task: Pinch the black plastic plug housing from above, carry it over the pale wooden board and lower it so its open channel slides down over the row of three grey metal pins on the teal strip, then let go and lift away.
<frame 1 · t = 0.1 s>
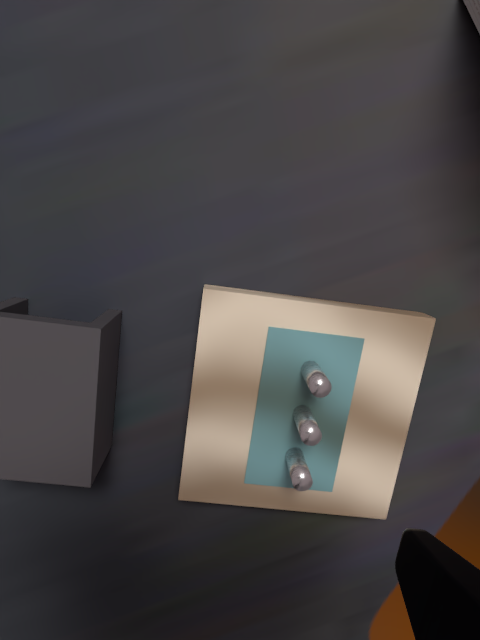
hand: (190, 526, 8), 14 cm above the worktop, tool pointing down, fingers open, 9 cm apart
pin board: (296, 401, 24), on the worktop
plug housing: (65, 374, 23), on the worktop
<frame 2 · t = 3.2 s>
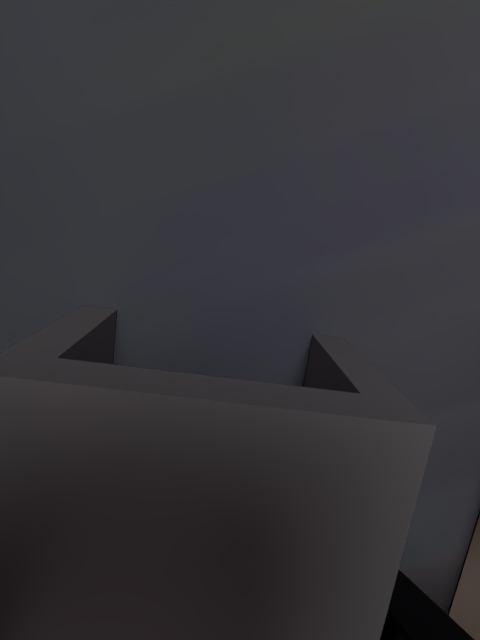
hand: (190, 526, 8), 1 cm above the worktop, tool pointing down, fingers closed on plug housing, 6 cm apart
plug housing: (194, 487, 10), on the worktop, touching gripper
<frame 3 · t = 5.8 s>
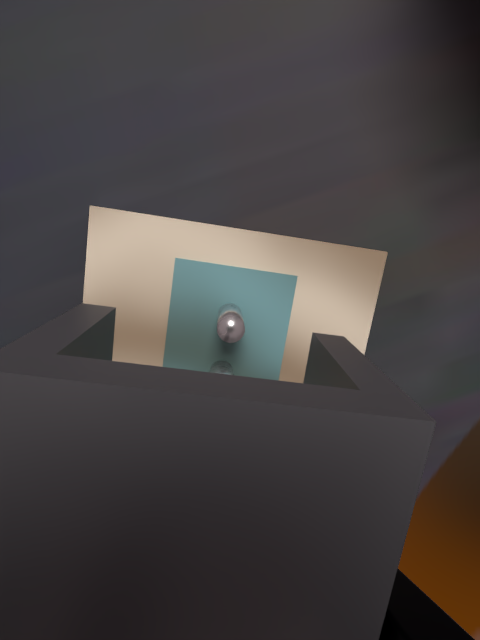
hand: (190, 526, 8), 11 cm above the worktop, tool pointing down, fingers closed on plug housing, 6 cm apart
pin board: (221, 359, 19), on the worktop
plug housing: (194, 485, 10), point 10 cm above the worktop, touching gripper
when the fingers open (3 cm above the worktop, at t = 8.6 s): plug housing stays where it is, resting on pin board.
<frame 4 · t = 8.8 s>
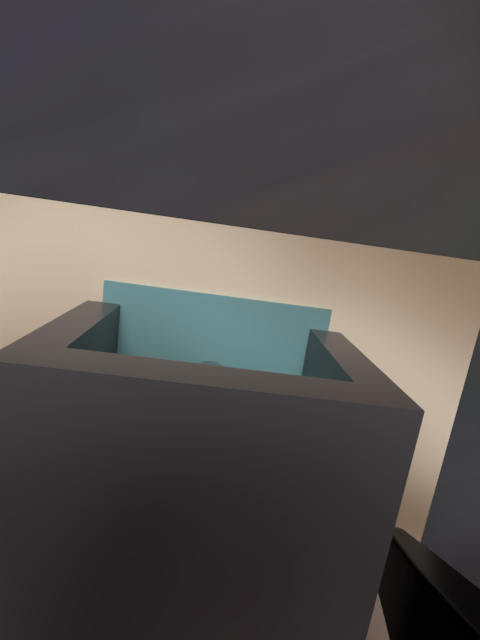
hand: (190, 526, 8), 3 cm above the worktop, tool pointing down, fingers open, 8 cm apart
pin board: (200, 443, 12), on the worktop
plug housing: (195, 477, 10), point 2 cm above the worktop, touching pin board
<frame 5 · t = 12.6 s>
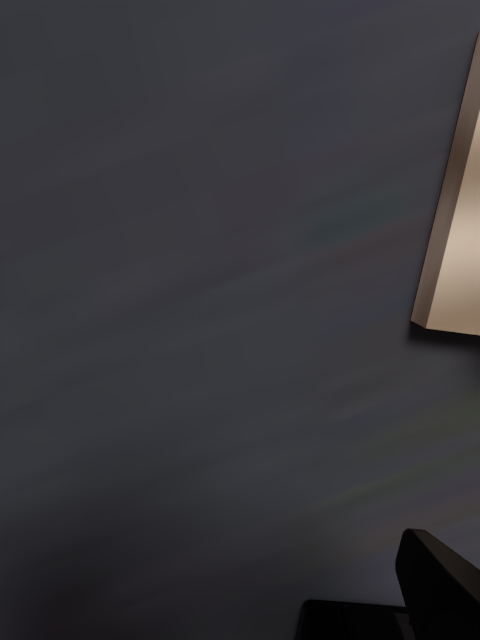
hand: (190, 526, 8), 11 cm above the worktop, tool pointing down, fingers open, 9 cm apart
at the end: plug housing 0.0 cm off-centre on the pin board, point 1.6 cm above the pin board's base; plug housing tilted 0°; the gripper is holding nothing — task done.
